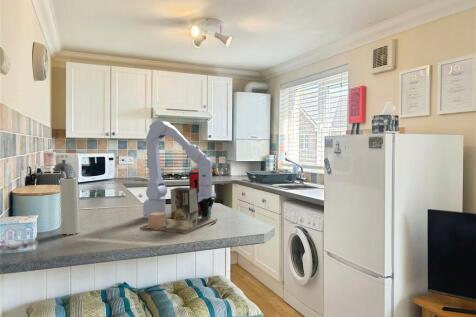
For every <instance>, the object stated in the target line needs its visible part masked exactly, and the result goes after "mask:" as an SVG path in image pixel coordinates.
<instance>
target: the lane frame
mask: <svg viewBox="0 0 476 317" xmlns="http://www.w3.org/2000/svg"><path fill="white" fill-rule="evenodd" d="M166 219H172V216H170V217H166ZM210 221H211V222H209V221H207V222H208V223H207V222H205V223H206V224H204V223H202V224H203V225H202V224H200V225H201V226H198V227H196V228H194V229H191V230H185V231H180V230H172V229H171V230H170V229H167V228H166V225H165V226H162V227H159V228H150V227H148V224H146V225H143V226H139V229H142V230H150V231H159V232H164V233H172V234H173V233H174V234H182V235H187V234H189V233H192V232H194V231H196V230H198V229H202V228H203V227H206V226H207V228H209V227H211V226H213V225H216V223H217V222H216V221H217V220H213V221H212V220H210ZM208 225H209V226H208ZM165 228H166V229H165Z"/></svg>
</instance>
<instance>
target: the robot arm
mask: <svg viewBox="0 0 476 317" xmlns="http://www.w3.org/2000/svg"><path fill="white" fill-rule="evenodd" d="M165 137H170V138H172V139H173V140H174V141H175V142H176V143H178V145H180V146H181V147H182V148H183V149H184V151H185V155H186V156H187V157H188V158H189V159H190V160H191V161H192V162H193V163H194V164H196V168H197V170H199V195H198V205H199V207H200V209H201V213H202V216H204V217H207V215H208V206H211V209H212V207H213V205H214V203H215V198H217V193H216V192H213V174H212V173H213V172H212V171H213V170H212V169H213V166H214V162H213V160H212V158H211V157H210V156H207V154H206V153H204V152H203V151H202V150H201V149H200V146H199V145H196V144H192V143H190V142H189V140H188V139H186V138H185V137H184V135H183V134H182V133H181V132H180V131H179V130H178V128H176V127H175V126H174V125H172V124H171V122H169V121H166V120H164V121H163V120H160V119H157V120H154V121H153V122H151V124H149V130H148V133H147V134H146V137H145V144H146V157H147V166H148V174H149V179H148V181H147V184H146V185H147V188H146V191H145V194H146V197H147V199H145V200H144V201H143V206H142V207H143V208H142V209H143V211H142V212H143V216H142V217H143V218H145V219H148V215H149V214H152V213H154V212H159V213H166V214H167V212H166V197H165V196H166V194H167V193H168V188H167V186H166V185H165V180H164V178H163V177H162V176H163V174H162V168H161V167H162V166H161V157H160V147H159V146H160V145H159V143H160V142H161V140H163V139H164V138H165Z"/></svg>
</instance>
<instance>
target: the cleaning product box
mask: <svg viewBox="0 0 476 317" xmlns="http://www.w3.org/2000/svg"><path fill="white" fill-rule="evenodd" d="M188 175H189V177H188V180H189V181H188V182H189V188H198V195H199V169H190V170H189V173H188ZM198 215H201V209H200V207H199V205H198Z"/></svg>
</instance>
